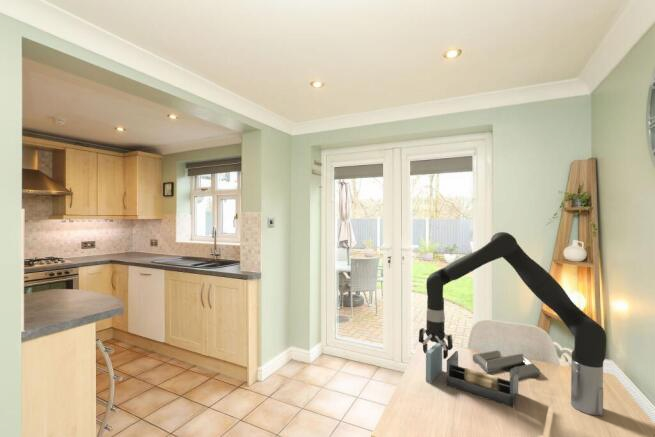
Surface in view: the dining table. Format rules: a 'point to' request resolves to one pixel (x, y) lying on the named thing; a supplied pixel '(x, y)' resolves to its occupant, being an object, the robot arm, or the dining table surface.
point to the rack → (503, 395)
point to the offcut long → (483, 375)
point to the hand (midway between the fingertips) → (435, 355)
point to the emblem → (506, 364)
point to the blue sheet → (433, 362)
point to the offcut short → (479, 381)
